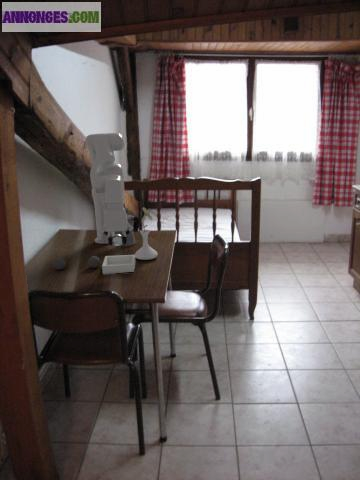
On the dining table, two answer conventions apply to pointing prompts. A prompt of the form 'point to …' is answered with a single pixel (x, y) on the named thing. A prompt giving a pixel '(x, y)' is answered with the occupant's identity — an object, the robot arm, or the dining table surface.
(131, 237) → the coffeepot
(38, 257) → the dining table surface
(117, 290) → the dining table surface
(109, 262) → the tray
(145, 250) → the flower in vase
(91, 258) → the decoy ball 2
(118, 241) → the steel ball
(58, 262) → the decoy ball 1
